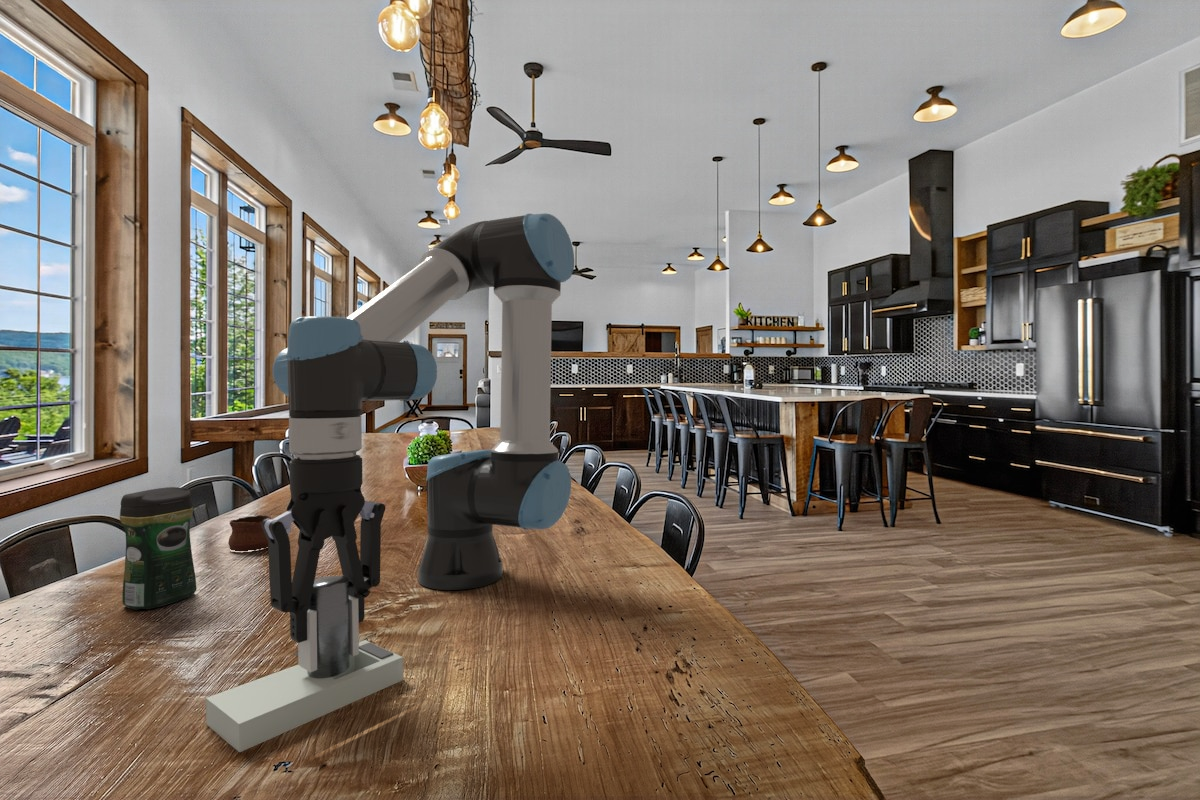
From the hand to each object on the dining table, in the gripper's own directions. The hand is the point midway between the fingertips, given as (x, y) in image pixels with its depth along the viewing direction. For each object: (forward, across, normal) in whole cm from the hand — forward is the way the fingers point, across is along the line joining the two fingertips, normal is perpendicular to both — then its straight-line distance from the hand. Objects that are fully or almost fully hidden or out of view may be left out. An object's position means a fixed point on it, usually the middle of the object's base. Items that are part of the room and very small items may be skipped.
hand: (329, 659), depth 69 cm
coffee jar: (+4, -1, +52) cm, 52 cm away
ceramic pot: (+5, +22, +75) cm, 78 cm away
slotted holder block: (+4, -2, 0) cm, 5 cm away
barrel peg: (+1, 0, 0) cm, 1 cm away
